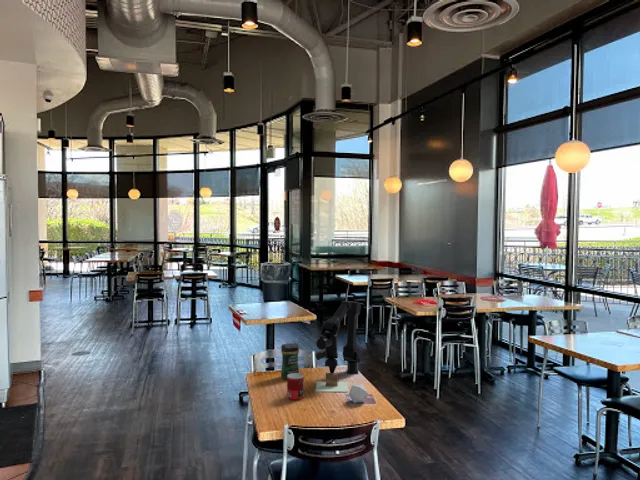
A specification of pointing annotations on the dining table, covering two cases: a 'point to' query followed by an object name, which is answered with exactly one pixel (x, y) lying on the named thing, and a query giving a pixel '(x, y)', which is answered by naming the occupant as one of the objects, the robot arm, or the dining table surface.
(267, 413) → the dining table surface
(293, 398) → the canned food
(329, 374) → the walnut slab
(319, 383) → the mat
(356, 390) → the die
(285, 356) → the coffee jar
